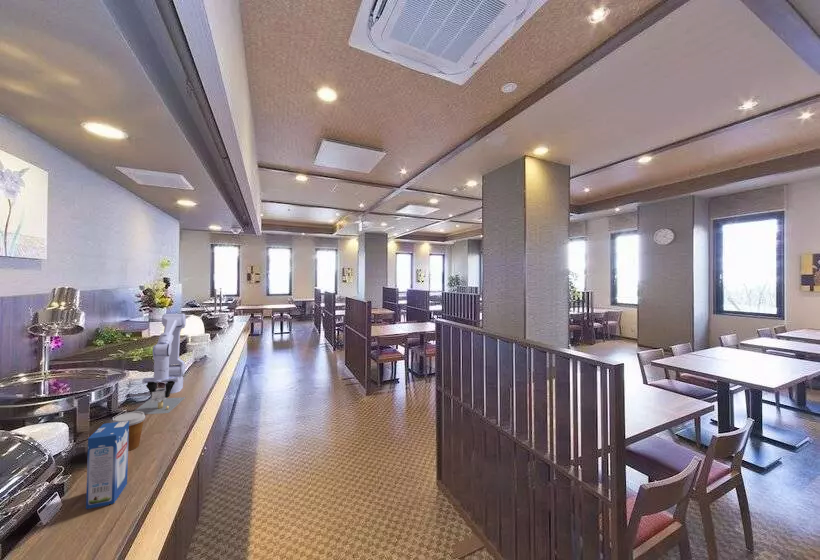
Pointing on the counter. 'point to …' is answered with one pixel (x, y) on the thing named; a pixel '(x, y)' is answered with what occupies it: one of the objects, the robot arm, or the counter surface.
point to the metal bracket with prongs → (158, 395)
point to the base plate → (155, 405)
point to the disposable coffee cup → (132, 427)
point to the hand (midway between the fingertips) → (160, 397)
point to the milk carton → (107, 464)
